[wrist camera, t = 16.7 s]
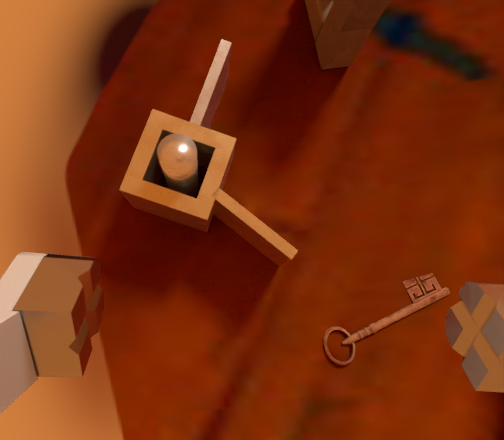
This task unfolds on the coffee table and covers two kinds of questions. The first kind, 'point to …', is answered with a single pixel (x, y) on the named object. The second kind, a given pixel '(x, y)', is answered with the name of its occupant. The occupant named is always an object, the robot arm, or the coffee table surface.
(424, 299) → the key
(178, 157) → the rounded cylinder
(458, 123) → the coffee table surface
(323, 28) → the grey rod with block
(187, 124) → the cream winged socket block
